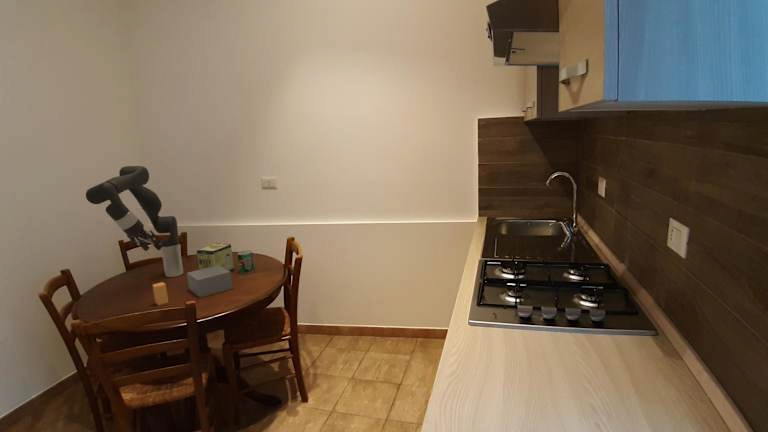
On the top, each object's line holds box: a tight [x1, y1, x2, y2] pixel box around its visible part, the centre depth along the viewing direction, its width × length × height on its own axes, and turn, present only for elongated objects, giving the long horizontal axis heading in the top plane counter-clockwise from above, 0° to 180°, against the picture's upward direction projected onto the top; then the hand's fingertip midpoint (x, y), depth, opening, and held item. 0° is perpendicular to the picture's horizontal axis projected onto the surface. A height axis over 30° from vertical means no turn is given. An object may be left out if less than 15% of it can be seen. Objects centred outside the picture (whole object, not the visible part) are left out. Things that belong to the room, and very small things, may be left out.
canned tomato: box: [237, 250, 255, 275], centre depth 245 cm, size 8×8×11 cm
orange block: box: [152, 281, 169, 306], centre depth 205 cm, size 4×4×9 cm
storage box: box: [186, 265, 233, 298], centre depth 220 cm, size 16×16×9 cm
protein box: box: [196, 242, 235, 273], centre depth 242 cm, size 10×16×16 cm
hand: (153, 249), depth 196 cm, fingers open, 8 cm apart
